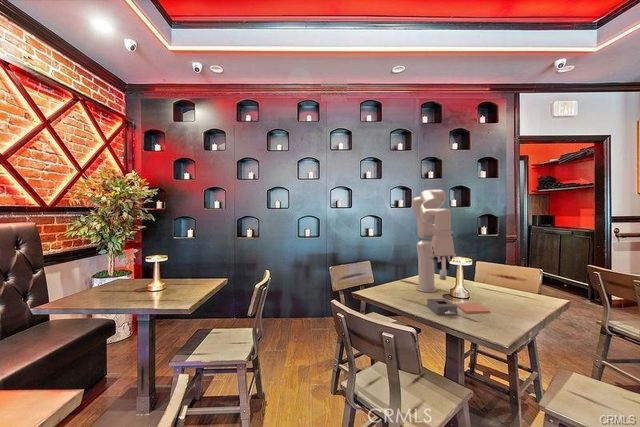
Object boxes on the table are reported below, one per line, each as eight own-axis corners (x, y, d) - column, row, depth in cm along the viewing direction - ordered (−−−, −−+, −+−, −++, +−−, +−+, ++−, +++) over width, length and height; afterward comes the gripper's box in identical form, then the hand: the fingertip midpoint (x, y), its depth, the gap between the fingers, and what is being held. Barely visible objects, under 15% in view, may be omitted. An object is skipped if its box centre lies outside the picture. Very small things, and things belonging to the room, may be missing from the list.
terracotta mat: (454, 305, 153) (454, 303, 153) (476, 304, 153) (476, 302, 153) (466, 313, 141) (466, 311, 141) (490, 312, 141) (490, 310, 141)
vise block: (427, 306, 152) (427, 299, 152) (445, 306, 152) (445, 298, 152) (440, 317, 136) (440, 309, 136) (461, 317, 136) (461, 309, 136)
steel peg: (438, 278, 147) (438, 255, 147) (444, 278, 147) (444, 255, 147) (441, 280, 144) (441, 256, 144) (447, 280, 144) (447, 256, 144)
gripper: (455, 232, 149) (455, 267, 149) (423, 233, 149) (424, 268, 149) (462, 233, 142) (462, 270, 142) (429, 234, 141) (429, 271, 142)
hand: (442, 269), depth 146 cm, fingers closed on steel peg, 3 cm apart
